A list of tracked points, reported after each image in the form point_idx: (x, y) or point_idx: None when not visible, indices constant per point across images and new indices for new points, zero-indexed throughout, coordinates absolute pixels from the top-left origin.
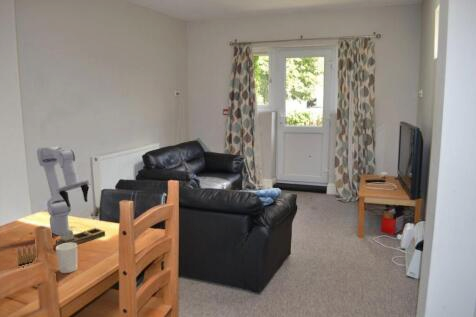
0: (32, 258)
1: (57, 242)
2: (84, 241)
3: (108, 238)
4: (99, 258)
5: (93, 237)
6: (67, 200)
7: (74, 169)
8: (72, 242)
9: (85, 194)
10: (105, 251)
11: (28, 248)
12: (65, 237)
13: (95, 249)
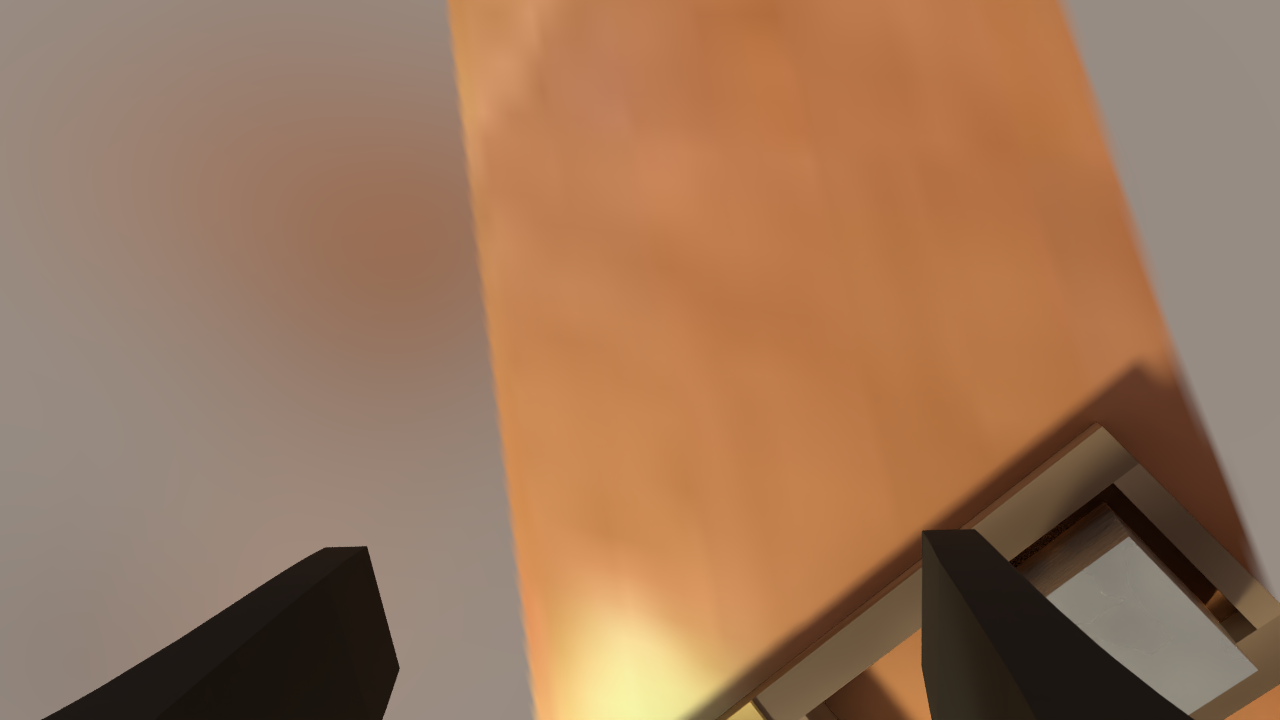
0: None
1: (1270, 594)
2: (857, 610)
3: (586, 651)
4: (587, 57)
5: (753, 692)
6: (995, 707)
7: None
8: (994, 507)
9: (127, 671)
10: (558, 245)
11: None
12: (1110, 532)
13: (672, 320)
